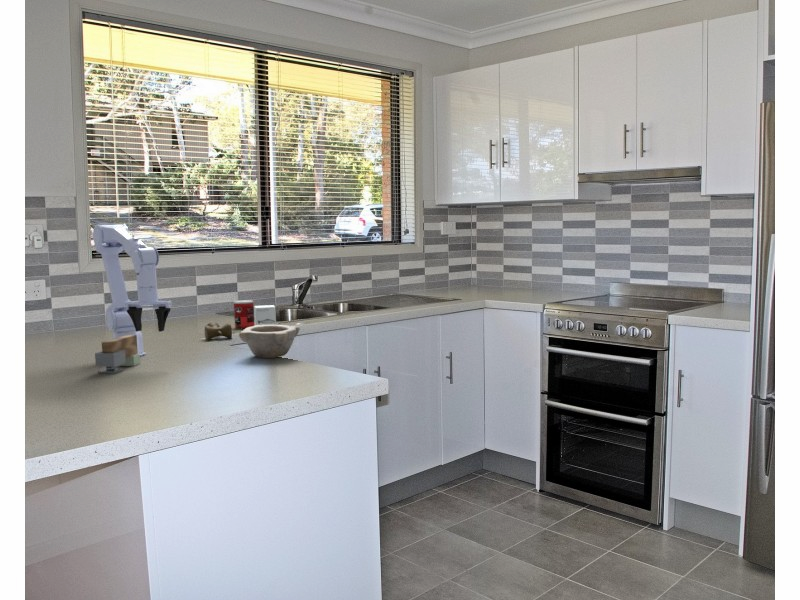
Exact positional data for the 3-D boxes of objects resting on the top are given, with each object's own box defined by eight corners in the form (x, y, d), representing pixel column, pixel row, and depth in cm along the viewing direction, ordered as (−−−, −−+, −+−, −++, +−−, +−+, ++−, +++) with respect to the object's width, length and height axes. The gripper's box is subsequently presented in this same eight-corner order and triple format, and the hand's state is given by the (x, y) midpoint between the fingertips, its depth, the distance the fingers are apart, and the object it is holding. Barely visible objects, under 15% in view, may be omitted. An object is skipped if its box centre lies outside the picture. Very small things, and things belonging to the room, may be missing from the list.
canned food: (234, 326, 298) (232, 300, 297) (253, 325, 301) (252, 299, 300) (235, 329, 291) (234, 302, 290) (255, 328, 293) (254, 301, 292)
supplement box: (256, 342, 257) (255, 307, 256) (255, 339, 264) (253, 305, 263) (277, 341, 259) (275, 306, 258) (275, 337, 266) (273, 304, 265)
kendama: (225, 334, 282) (234, 340, 264) (200, 337, 278) (208, 343, 260) (224, 319, 281) (233, 324, 263) (199, 322, 278) (206, 327, 259)
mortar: (285, 361, 220) (284, 332, 219) (235, 360, 224) (233, 331, 223) (304, 351, 237) (303, 324, 236) (257, 350, 240) (256, 323, 240)
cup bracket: (108, 369, 215) (106, 349, 214) (126, 369, 214) (124, 349, 213) (96, 373, 209) (94, 353, 208) (114, 373, 208) (113, 353, 207)
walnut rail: (129, 353, 223) (127, 334, 223) (137, 353, 223) (136, 334, 222) (103, 362, 210) (101, 342, 209) (112, 362, 209) (110, 342, 208)
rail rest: (125, 363, 223) (125, 353, 223) (140, 363, 222) (139, 354, 222) (119, 365, 220) (118, 356, 220) (134, 365, 219) (133, 356, 219)
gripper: (118, 288, 215) (121, 332, 217) (162, 288, 213) (165, 333, 214) (131, 286, 222) (134, 329, 224) (174, 286, 220) (176, 329, 221)
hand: (150, 331), depth 219 cm, fingers open, 7 cm apart
